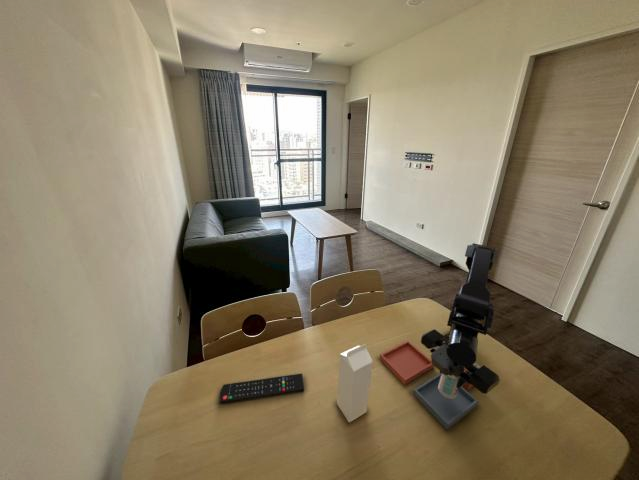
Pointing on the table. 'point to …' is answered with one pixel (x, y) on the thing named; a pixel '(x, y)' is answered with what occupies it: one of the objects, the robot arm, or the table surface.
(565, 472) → the table surface
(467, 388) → the red block
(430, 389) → the grey tray
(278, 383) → the remote control
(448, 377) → the pill bottle
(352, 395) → the milk
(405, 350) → the red tray
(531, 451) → the table surface
